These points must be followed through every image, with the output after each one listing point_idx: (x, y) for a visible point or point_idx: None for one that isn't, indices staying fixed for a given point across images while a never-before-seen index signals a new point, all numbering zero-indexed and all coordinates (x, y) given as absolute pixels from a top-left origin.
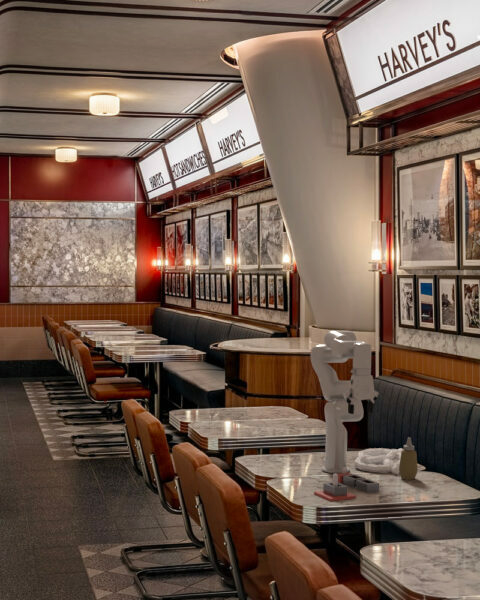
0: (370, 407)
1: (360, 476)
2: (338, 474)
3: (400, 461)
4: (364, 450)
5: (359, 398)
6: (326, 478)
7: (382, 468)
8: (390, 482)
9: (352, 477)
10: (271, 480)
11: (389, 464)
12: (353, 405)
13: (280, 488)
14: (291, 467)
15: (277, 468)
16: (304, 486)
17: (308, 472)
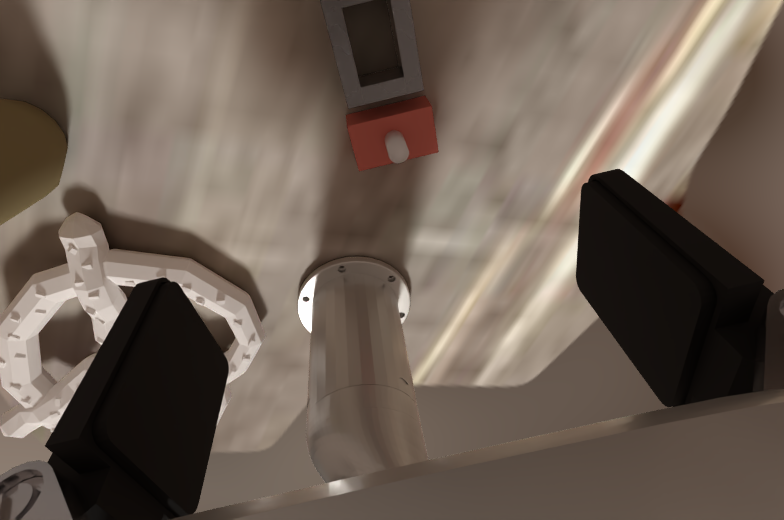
0: (158, 373)
1: (336, 50)
2: (426, 140)
3: (27, 180)
4: None
5: (778, 450)
6: (446, 189)
7: (150, 259)
8: (146, 67)
9: (371, 82)
10: (678, 183)
11: (105, 275)
12: (723, 270)
13: (746, 36)
14: (492, 346)
15: (545, 337)
16: (622, 56)
17: (470, 283)
